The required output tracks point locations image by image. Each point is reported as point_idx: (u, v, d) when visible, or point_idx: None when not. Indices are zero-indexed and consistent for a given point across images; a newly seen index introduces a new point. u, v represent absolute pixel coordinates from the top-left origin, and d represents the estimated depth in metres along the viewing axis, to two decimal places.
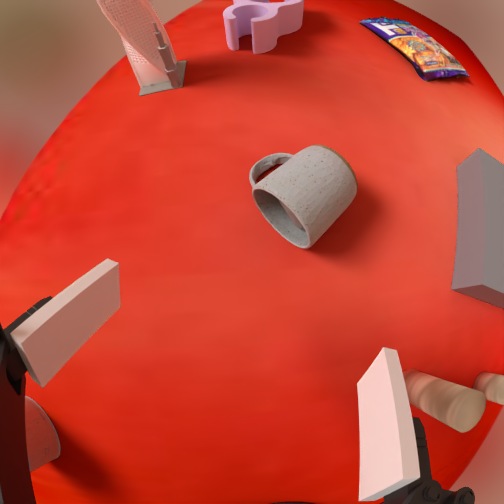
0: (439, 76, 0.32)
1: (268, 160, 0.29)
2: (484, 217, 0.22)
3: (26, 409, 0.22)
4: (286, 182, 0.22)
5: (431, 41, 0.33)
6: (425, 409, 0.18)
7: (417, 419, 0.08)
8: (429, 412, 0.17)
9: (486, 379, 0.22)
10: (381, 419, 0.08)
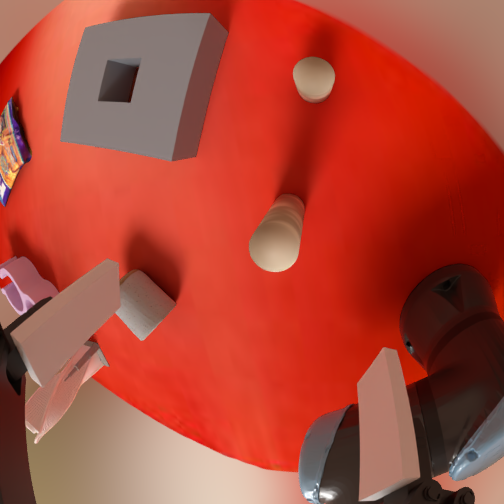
0: (22, 140, 0.33)
1: None
2: (114, 149, 0.26)
3: None
4: (135, 332, 0.34)
5: None
6: None
7: (417, 419, 0.08)
8: None
9: (301, 95, 0.23)
10: (381, 419, 0.08)
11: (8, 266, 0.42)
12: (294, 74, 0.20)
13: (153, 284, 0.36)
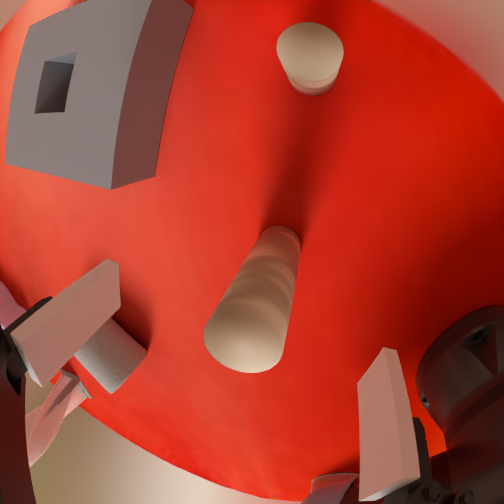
0: None
1: None
2: (51, 174, 0.18)
3: (314, 489, 0.36)
4: (102, 385, 0.26)
5: None
6: None
7: (417, 419, 0.08)
8: None
9: (293, 83, 0.15)
10: (381, 419, 0.08)
11: None
12: (278, 48, 0.12)
13: (119, 331, 0.28)
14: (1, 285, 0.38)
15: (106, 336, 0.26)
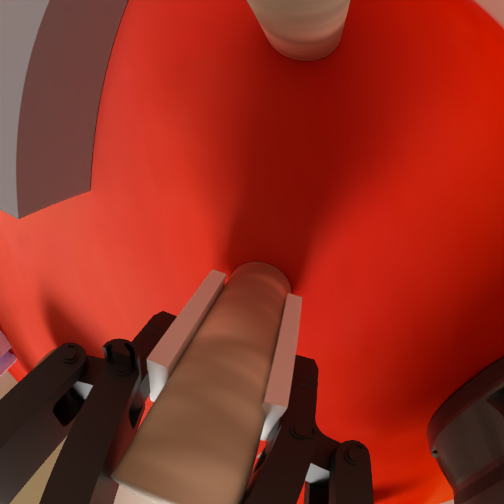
0: None
1: None
2: None
3: None
4: None
5: None
6: None
7: (312, 361, 0.10)
8: None
9: (271, 37, 0.08)
10: None
11: None
12: None
13: None
14: None
15: None
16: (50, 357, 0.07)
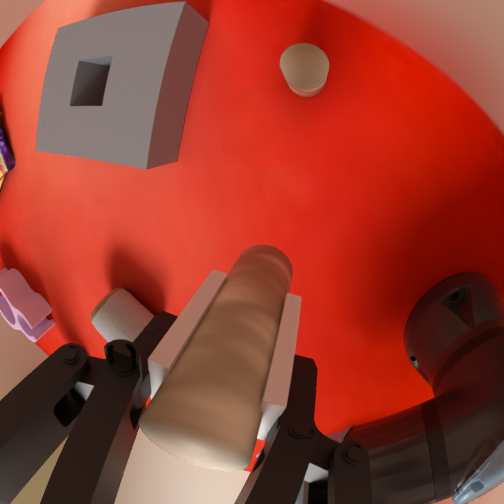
0: (5, 146, 0.30)
1: None
2: (87, 157, 0.23)
3: None
4: None
5: None
6: None
7: (311, 360, 0.10)
8: None
9: (291, 88, 0.20)
10: None
11: None
12: (281, 63, 0.16)
13: (136, 303, 0.34)
14: (16, 272, 0.43)
15: (126, 307, 0.32)
16: (50, 357, 0.07)
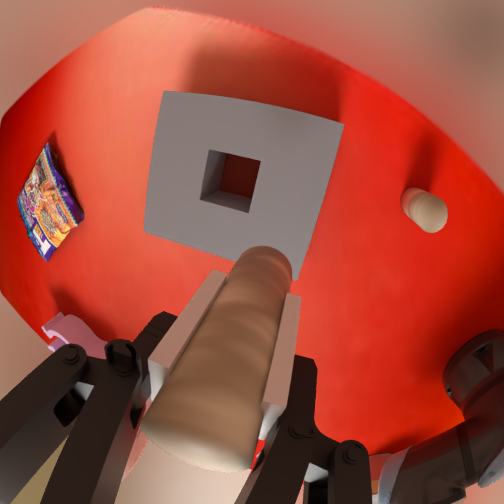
0: (70, 197, 0.37)
1: None
2: (225, 257, 0.29)
3: None
4: None
5: (31, 193, 0.37)
6: None
7: (311, 360, 0.10)
8: None
9: (408, 216, 0.26)
10: None
11: (59, 328, 0.45)
12: (418, 213, 0.22)
13: None
14: (78, 320, 0.49)
15: None
16: (51, 358, 0.07)
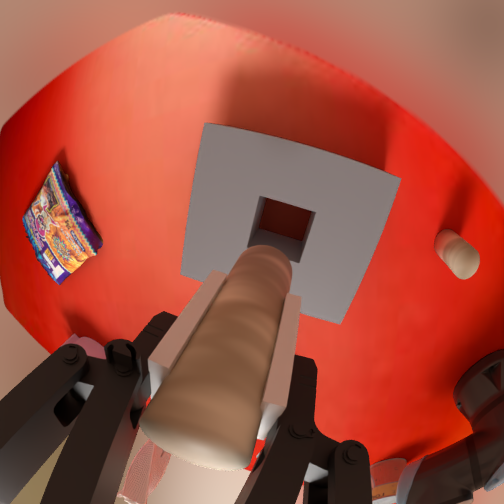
0: (86, 224, 0.36)
1: None
2: None
3: (372, 473, 0.47)
4: None
5: (40, 216, 0.36)
6: None
7: (311, 360, 0.10)
8: None
9: None
10: None
11: None
12: (455, 263, 0.22)
13: None
14: (95, 343, 0.48)
15: None
16: (50, 358, 0.07)
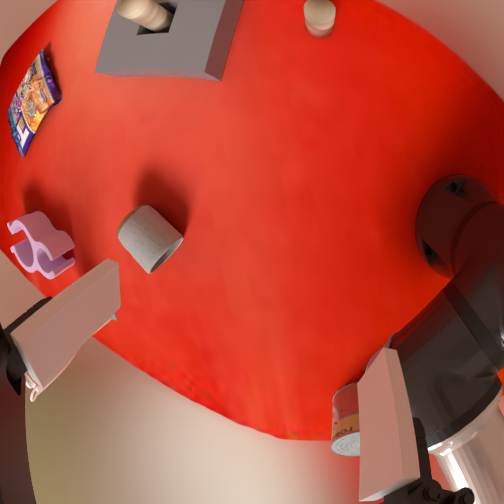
0: (53, 83, 0.34)
1: None
2: (149, 69, 0.27)
3: (337, 402, 0.46)
4: (142, 262, 0.36)
5: (21, 92, 0.34)
6: (157, 23, 0.23)
7: (417, 419, 0.08)
8: (154, 21, 0.22)
9: (310, 28, 0.24)
10: (381, 419, 0.08)
11: (21, 218, 0.43)
12: (304, 8, 0.20)
13: (162, 217, 0.39)
14: (40, 213, 0.47)
15: (153, 217, 0.37)
16: None
